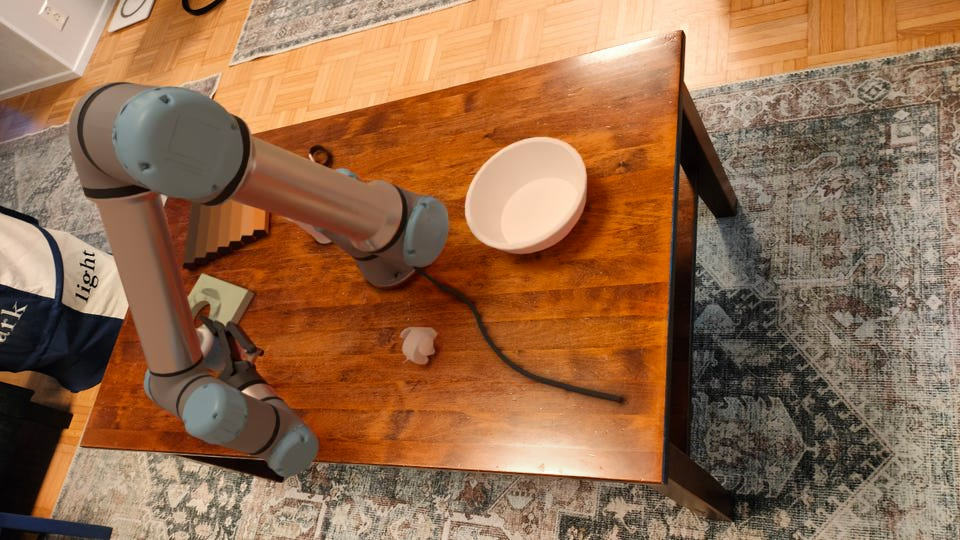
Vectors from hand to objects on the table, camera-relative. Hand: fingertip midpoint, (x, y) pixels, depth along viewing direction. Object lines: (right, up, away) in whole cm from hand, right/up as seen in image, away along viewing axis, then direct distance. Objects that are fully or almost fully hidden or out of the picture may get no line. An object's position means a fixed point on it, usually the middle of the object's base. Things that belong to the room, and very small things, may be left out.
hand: (193, 334), depth 119 cm
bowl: (+63, +21, -1) cm, 67 cm away
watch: (+15, +37, +36) cm, 54 cm away
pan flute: (-9, +26, +43) cm, 51 cm away
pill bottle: (+6, -5, +2) cm, 8 cm away
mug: (+18, +21, +25) cm, 37 cm away
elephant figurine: (+43, -3, -3) cm, 43 cm away
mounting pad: (-8, 0, +28) cm, 29 cm away
